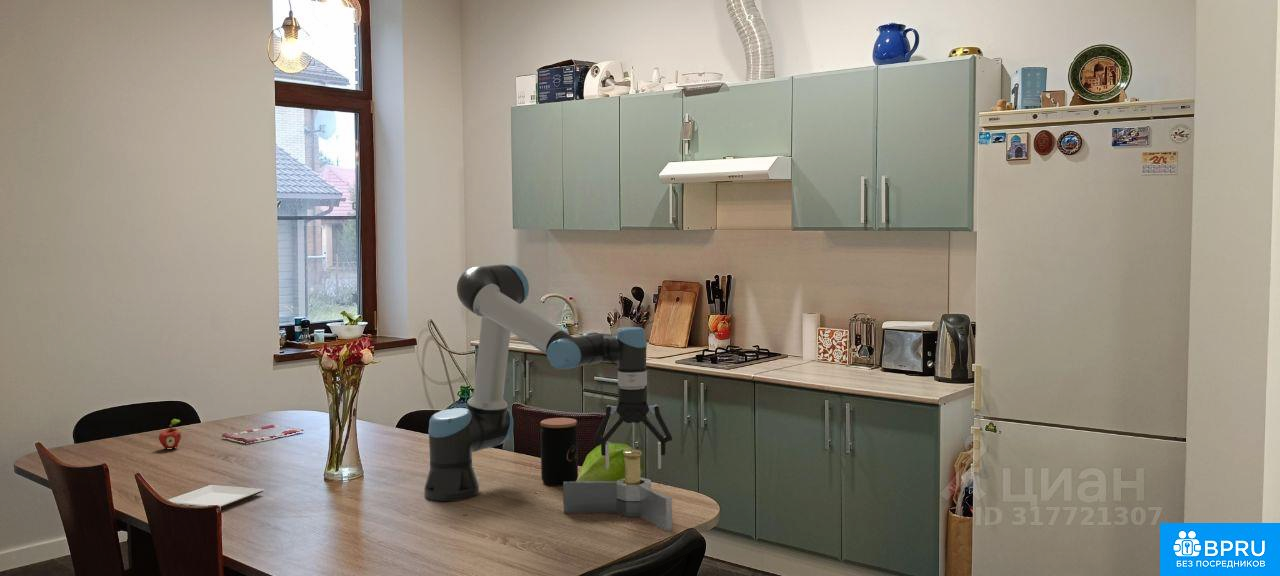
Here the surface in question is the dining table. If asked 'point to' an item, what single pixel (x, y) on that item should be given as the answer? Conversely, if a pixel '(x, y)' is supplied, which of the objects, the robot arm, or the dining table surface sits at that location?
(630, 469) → the pin
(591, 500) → the hinge
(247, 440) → the dish towel
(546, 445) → the coffee jar
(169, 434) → the apple
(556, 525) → the dining table surface
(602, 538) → the dining table surface
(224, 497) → the plate
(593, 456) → the lettuce
